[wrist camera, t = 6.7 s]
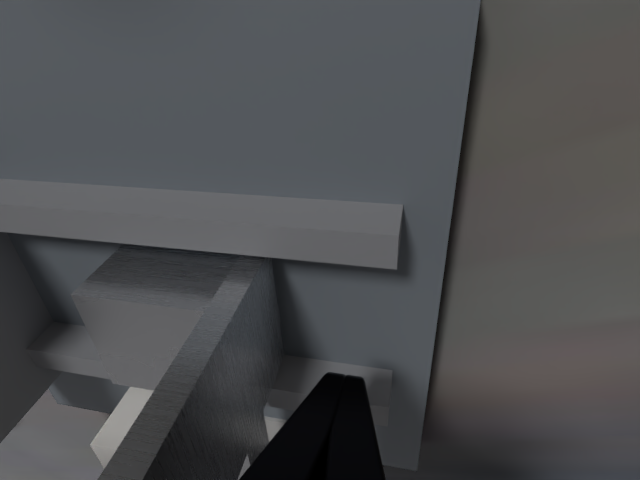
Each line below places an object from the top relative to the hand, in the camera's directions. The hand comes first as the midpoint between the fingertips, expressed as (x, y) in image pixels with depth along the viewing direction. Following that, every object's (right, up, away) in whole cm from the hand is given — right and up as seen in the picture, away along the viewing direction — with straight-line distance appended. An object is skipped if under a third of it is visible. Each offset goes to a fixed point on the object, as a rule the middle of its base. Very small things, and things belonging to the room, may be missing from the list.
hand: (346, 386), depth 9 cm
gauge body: (-4, +2, +4) cm, 6 cm away
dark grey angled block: (-3, 0, +3) cm, 5 cm away
